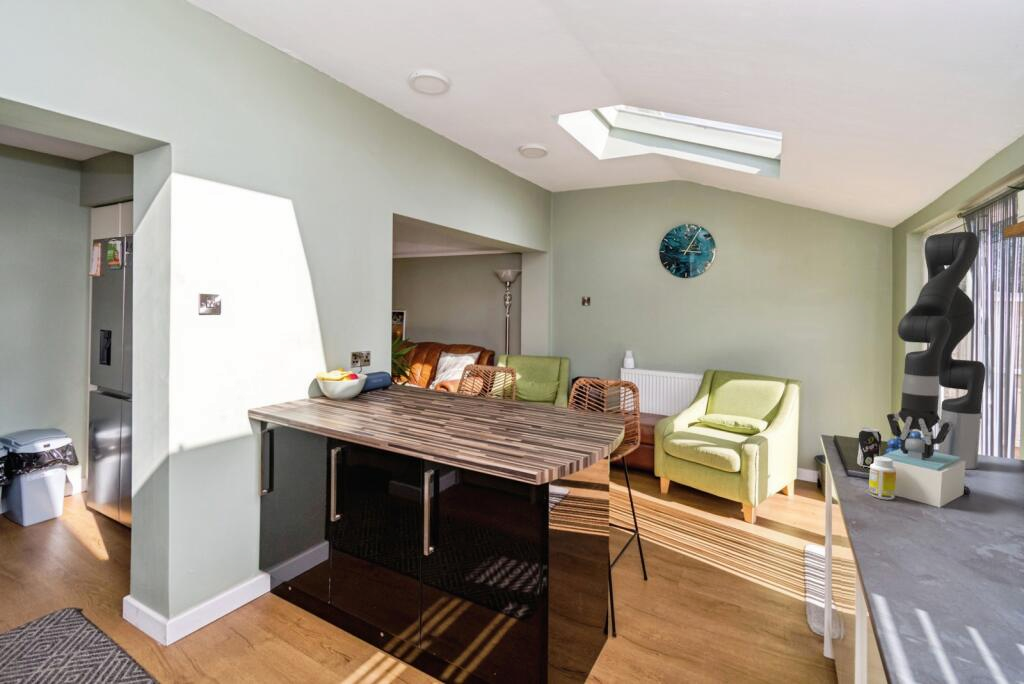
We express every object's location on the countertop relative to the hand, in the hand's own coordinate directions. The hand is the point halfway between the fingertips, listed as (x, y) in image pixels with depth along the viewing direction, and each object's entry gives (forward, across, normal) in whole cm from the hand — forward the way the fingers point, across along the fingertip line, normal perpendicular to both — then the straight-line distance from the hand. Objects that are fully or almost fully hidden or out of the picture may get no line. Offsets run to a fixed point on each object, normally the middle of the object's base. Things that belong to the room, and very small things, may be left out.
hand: (916, 455), depth 131 cm
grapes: (+11, +10, -25) cm, 29 cm away
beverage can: (+11, +17, -15) cm, 25 cm away
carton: (+11, 0, -3) cm, 11 cm away
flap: (+1, 0, -4) cm, 5 cm away
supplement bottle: (+11, +4, +9) cm, 15 cm away
